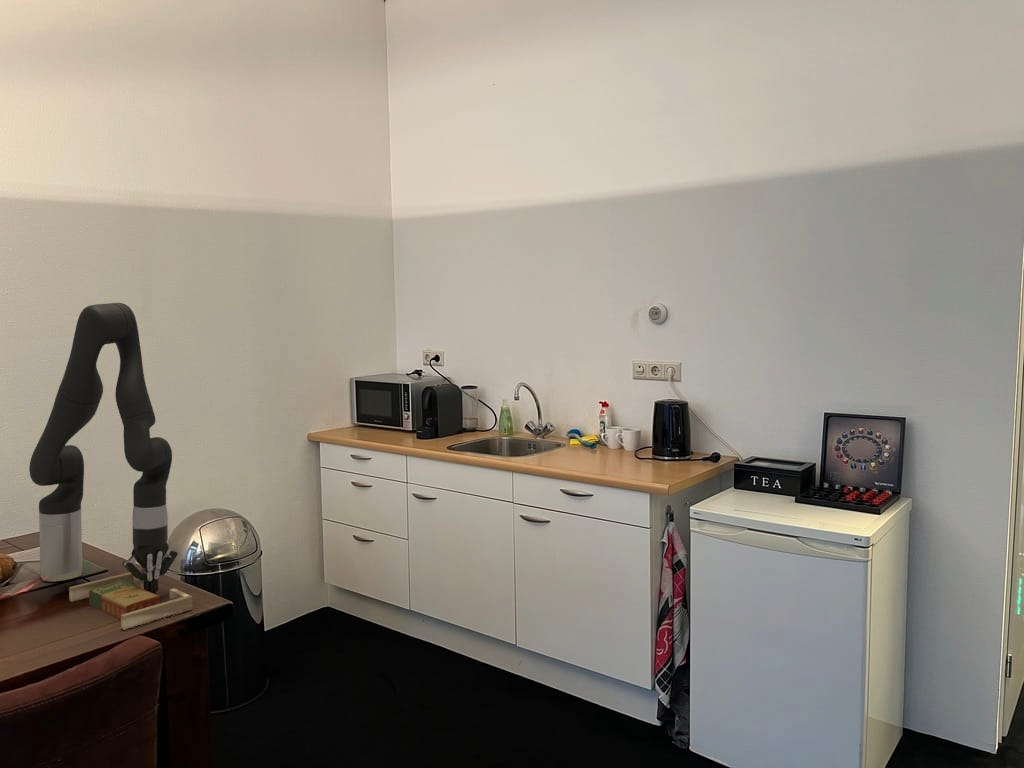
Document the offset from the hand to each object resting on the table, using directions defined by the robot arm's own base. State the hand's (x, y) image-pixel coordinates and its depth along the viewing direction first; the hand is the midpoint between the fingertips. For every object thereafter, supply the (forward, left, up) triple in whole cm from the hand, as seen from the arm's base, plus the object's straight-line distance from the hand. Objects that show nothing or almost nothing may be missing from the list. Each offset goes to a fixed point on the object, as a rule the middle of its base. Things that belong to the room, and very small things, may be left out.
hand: (150, 594), depth 192 cm
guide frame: (0, -5, -1) cm, 5 cm away
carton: (+1, -7, -2) cm, 7 cm away
